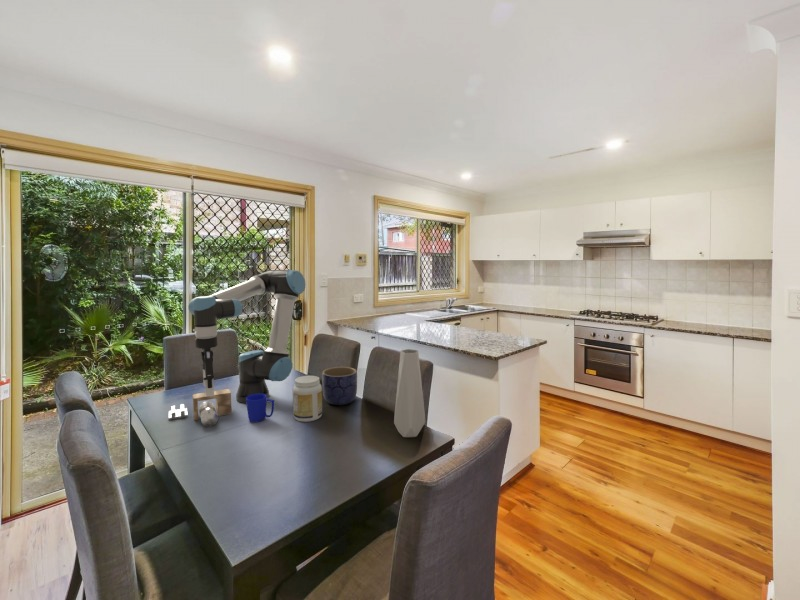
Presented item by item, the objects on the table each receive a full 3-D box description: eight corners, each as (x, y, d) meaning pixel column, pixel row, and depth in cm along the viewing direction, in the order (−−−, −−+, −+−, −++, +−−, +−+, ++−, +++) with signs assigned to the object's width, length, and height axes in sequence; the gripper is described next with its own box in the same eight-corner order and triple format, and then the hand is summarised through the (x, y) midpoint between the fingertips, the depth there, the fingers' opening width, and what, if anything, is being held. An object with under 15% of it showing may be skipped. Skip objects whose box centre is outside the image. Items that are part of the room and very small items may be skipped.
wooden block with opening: (229, 408, 171) (229, 388, 170) (231, 413, 166) (230, 392, 165) (193, 415, 163) (192, 394, 162) (194, 420, 158) (193, 398, 157)
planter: (364, 399, 183) (364, 369, 182) (341, 410, 169) (341, 378, 168) (338, 393, 192) (338, 364, 191) (315, 403, 178) (314, 372, 177)
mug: (269, 425, 154) (268, 401, 153) (242, 422, 156) (241, 399, 155) (279, 417, 162) (278, 394, 161) (254, 415, 164) (253, 392, 163)
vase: (388, 429, 150) (388, 349, 147) (414, 425, 154) (415, 346, 151) (400, 443, 139) (400, 356, 136) (428, 437, 143) (429, 353, 140)
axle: (214, 412, 167) (213, 399, 166) (218, 424, 154) (217, 410, 153) (199, 416, 164) (198, 402, 163) (202, 428, 151) (200, 414, 150)
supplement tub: (312, 409, 171) (312, 372, 169) (327, 417, 162) (327, 378, 161) (288, 416, 162) (287, 378, 161) (302, 425, 154) (301, 385, 152)
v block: (186, 410, 169) (186, 403, 169) (187, 416, 162) (187, 410, 161) (168, 413, 166) (168, 406, 165) (168, 420, 158) (168, 413, 158)
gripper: (193, 332, 152) (196, 383, 154) (196, 343, 131) (199, 402, 133) (214, 330, 156) (216, 380, 158) (220, 341, 135) (222, 398, 137)
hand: (208, 390), depth 146 cm, fingers open, 13 cm apart
